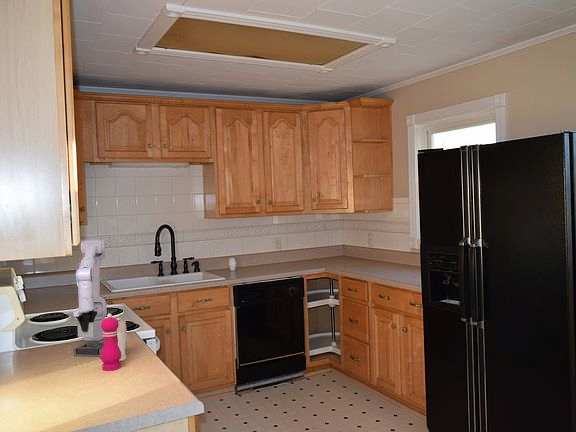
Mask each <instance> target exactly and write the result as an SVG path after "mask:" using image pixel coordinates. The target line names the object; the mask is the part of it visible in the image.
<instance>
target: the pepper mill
mask: <svg viewBox="0 0 576 432" xmlns="http://www.w3.org/2000/svg"><path fill="white" fill-rule="evenodd" d="M105 318H106V319H104V320H103V321H102V323H101V328H102V330H103V331H104V332H103V336H104V338H103V340H104V342H103V343H104V346H103V349H102V352H101V356H100V357H99V358H100V360H101V362H102V365H101V368H102V371H105V372H111V371H117V370H119V369H120V368H121V361H119V360H120V359H121V356H122V355H121V351H120V348H119V346H118V344H117V340H116V335H117V330H116V329H117V328H118V326H119V323H118V320H117V319H118V318H115V317H113V314H112V313H111V312H110V313H107V314H106V317H105Z"/></svg>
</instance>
